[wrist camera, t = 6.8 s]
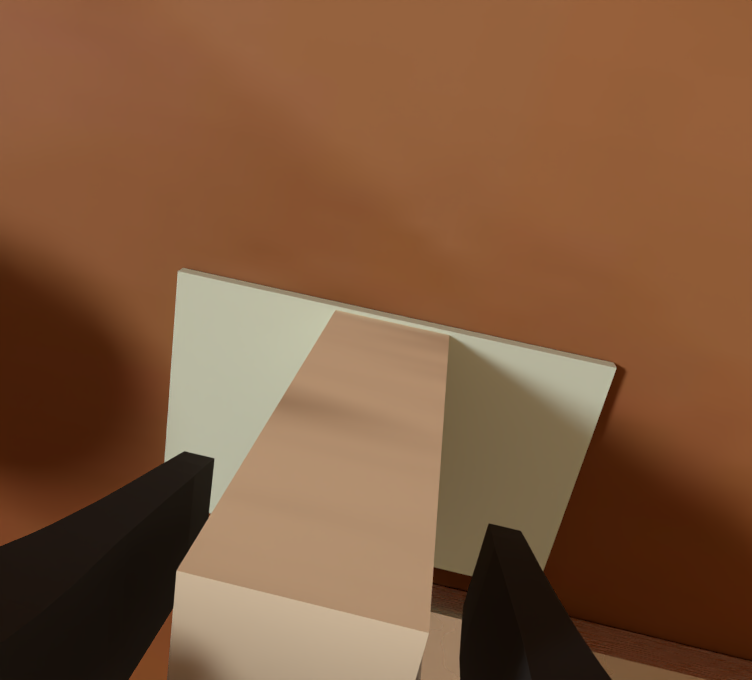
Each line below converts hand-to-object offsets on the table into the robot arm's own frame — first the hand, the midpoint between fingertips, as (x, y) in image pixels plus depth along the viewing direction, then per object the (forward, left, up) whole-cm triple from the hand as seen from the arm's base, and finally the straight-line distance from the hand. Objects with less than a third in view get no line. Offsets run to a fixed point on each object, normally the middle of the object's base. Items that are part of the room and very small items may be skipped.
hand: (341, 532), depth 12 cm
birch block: (0, 0, -3) cm, 4 cm away
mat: (0, 0, -4) cm, 4 cm away
